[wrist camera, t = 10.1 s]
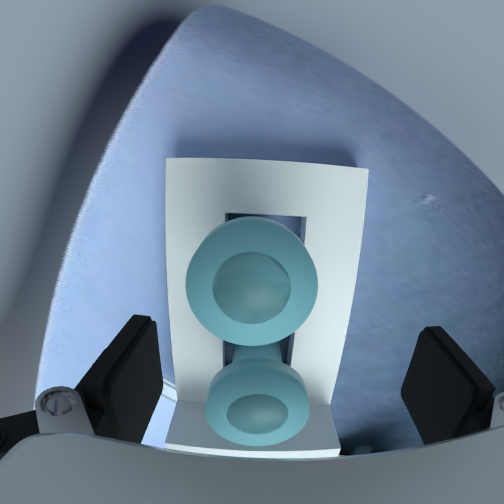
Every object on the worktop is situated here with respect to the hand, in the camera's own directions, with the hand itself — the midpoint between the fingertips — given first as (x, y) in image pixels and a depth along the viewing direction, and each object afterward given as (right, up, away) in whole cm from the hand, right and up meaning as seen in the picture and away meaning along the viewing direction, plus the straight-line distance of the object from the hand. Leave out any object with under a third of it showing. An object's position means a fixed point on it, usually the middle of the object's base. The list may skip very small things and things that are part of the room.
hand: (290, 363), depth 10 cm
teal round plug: (-1, +4, +15) cm, 15 cm away
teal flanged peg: (-1, -4, +17) cm, 18 cm away
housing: (-1, 0, +16) cm, 16 cm away
